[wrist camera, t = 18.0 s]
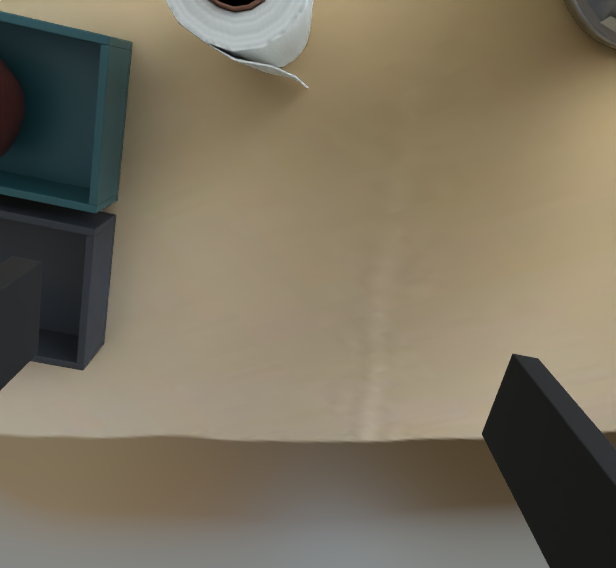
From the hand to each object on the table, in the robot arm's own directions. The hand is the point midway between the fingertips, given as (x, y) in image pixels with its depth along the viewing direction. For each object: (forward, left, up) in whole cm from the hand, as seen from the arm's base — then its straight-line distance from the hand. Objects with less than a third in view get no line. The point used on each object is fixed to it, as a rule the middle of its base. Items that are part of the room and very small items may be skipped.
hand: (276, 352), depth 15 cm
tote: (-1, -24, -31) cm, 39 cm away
